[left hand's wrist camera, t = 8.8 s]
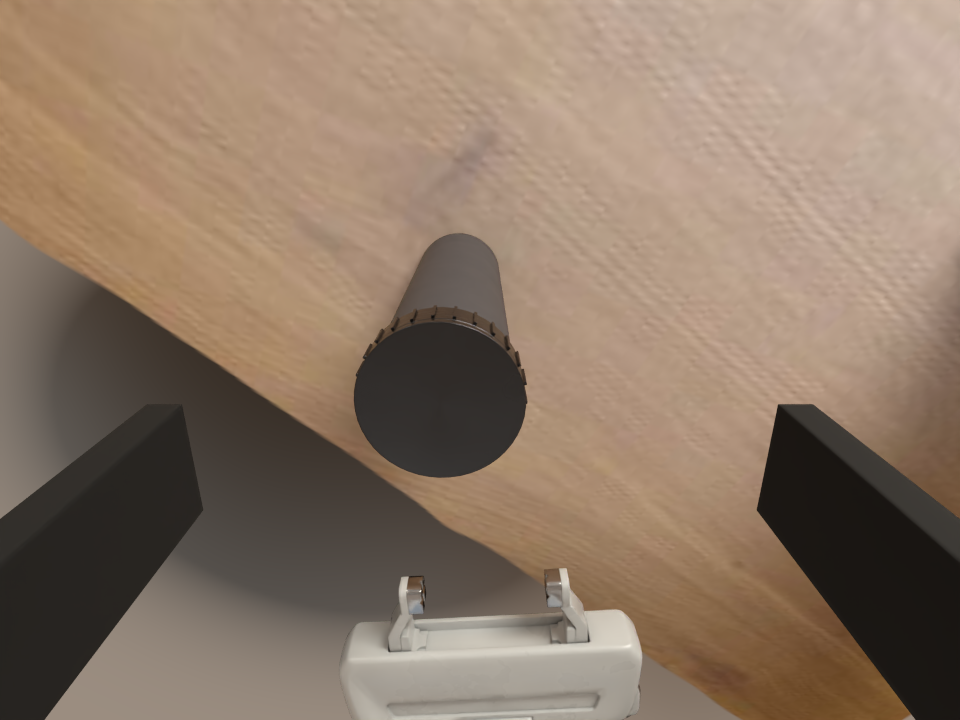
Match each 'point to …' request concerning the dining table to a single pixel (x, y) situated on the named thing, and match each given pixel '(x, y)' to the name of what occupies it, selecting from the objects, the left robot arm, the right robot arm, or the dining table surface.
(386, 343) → the lid
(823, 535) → the left robot arm
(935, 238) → the dining table surface
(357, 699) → the right robot arm
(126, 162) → the dining table surface
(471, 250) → the dark grey cylinder
